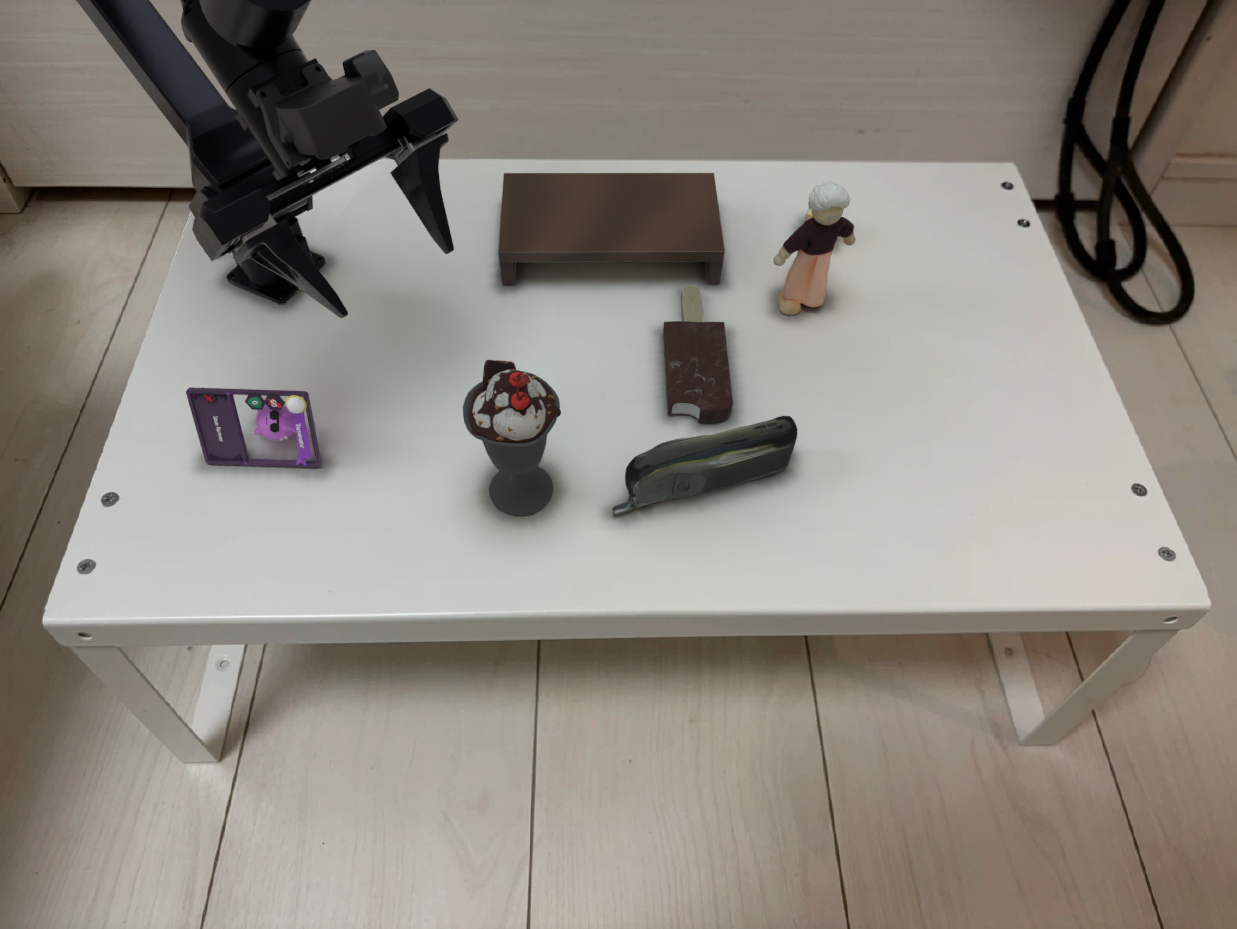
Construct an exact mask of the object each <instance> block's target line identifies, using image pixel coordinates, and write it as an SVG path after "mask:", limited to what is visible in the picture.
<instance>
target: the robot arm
mask: <svg viewBox="0 0 1237 929" xmlns="http://www.w3.org/2000/svg"><path fill="white" fill-rule="evenodd" d="M75 1H76V3H78V5H79V6H80V8H81V9H82V10H83V12H84V13H85V14H86V15H87V17H88V18H89V19H90V21H91V22H92V24H93V25H94V26H95V27H96V29H97V30H98V31H99V32H100V34H101V35H102V36H103V38H104V39H105V40H106V42H107V43H108V45H109V46H110V47H111V48H112V50H113V51H114V52H115V54H116V55H117V56H118V58H119V59H120V60H121V61H122V63H123V64H124V66H126V68H127V69H128V70H129V72H130V73H131V74H132V76H133V77H134V78H135V80H136V82H138V84H139V85H140V87H142V89H143V90H144V91H145V93H146V94H147V96H148V97H149V98H150V99H151V101H152V102H153V103H154V104H155V106H156V107H157V109H158V110H159V112H161V113H162V115H163V116H164V117H165V119H166V120H167V122H168V123H169V124H170V125H171V127H172V128H173V129H174V131H175V132H176V133H177V135H178V136H179V137H180V138H181V140H182V141H183V142H184V144H185V145H186V147H187V149H188V155H189V156H188V157H189V166H190V167H189V168H190V176H191V184H192V186H193V188H194V190H195V191H196V192H195V194H194V196H193V197H192V199H191V200H190V203H189V204H188V208H189V210H190V213H191V214H192V215H193V217H194V218H193V223H192V229H191V231H192V233H193V235H194V237H195V239H196V241H197V243H198V244H199V245H200V247H201V249H202V250H203V251H204V253H205V254H206V256H207V257H208V258H209V260H210V262H214V261H216V260H219V259H221V258H222V257H224V256H226V255H229V254H230V255H231V254H232V258H233V260H234V261H235V264H236V266H235V267H234V268H233V269H232V270H230V272H228V273H227V274H226V277H225V278H226V280H227V282H228V283H230V284H232V285H234V286H236V287H239V288H240V289H243V290H245V291H248V292H249V293H253V294H254V295H258V296H260V297H262V298H264V299H266V300H269V301H271V302H273V303H276V304H279V305H284V304H285V303H287V302H288V301H289V300H290V299H291V298H292V297H293V296H294V295H295V294H296V293H297V292H298V291H299V290H301V291H302V292H304V293H305V294H306V295H308V296H309V297H311V298H312V299H313V300H315V301H316V302H317V303H319V304H320V305H321V306H323V307H324V308H325V309H327V310H328V311H330V312H331V313H332V314H333V315H335V316H336V317H338V318H340V319H344V318H345V317H347V316H348V315H349V312H348V310H347V308H346V307H345V304H344V303H343V301H342V299H341V298H340V296H339V294H338V293H337V292H336V291H335V289H334V288H333V286H332V284H331V283H329V281H328V280H327V279H326V277H325V276H324V275H323V273H322V272H321V271H320V270H321V269H322V268H323V267H324V266H325V265H326V263H327V262H326V258H325V257H324V255H322V254H319V253H316V252H314V251H312V250H310V247H309V243H308V241H307V240H308V239H307V238H306V236H304V233H303V231H302V228H301V225H300V222H299V218H297V217H298V216H300V215H302V214H303V213H305V212H309V211H312V210H313V209H314V198H313V197H314V195H316V194H318V193H319V192H321V191H323V190H325V189H327V188H329V187H331V186H333V185H335V184H337V183H338V182H341V181H342V180H344V179H346V178H348V177H350V176H352V175H354V174H355V173H358V172H359V171H361V170H363V169H364V168H367V167H368V166H371V165H373V164H374V163H376V162H378V161H380V160H382V159H385V158H387V159H390V160H392V161H394V163H395V164H396V167H395V168H393V169H392V170H391V171H390V172H389V173H390V175H391V177H392V178H393V180H394V182H395V183H396V184H397V187H398V188H399V189H400V190H401V193H402V194H403V195H404V197H405V198H406V200H407V202H408V203H409V204H410V206H411V207H412V209H413V211H414V212H415V214H416V215H417V217H418V218H419V220H420V222H421V223H422V225H423V227H424V228H425V230H426V231H427V233H428V234H429V236H430V237H431V239H432V240H433V242H435V244H436V245H437V247H439V249H440V250H441V251H442V253H444V254H445V255H448V254H450V253H452V252H454V251H455V246H454V241H453V237H452V232H451V229H450V224H449V220H448V215H447V211H446V207H445V202H444V198H443V193H442V187H441V180H440V179H441V177H440V168H439V166H440V165H439V164H440V157H441V156H440V155H441V149H442V148H443V147H444V146H445V145H447V144H448V143H449V140H450V139H449V134H448V133H447V131H448V130H449V129H450V128H451V127H452V126H454V125H455V124H456V123H457V122H458V121H459V117H458V116H457V114H456V113H455V110H454V109H453V108H452V106H451V104H450V102H449V101H448V99H447V97H445V96H443V95H442V94H440V93H439V92H437V91H435V90H434V89H433V88H430V87H429V88H426V89H425V90H423V91H420V92H418V93H417V94H415V95H413V96H411V97H408V98H406V99H405V100H403V101H401V102H399V103H397V104H395V105H393V106H391V107H389V109H388V110H387V111H386V112H385V113H384V114H383V115H382V112H381V111H380V110H382V109H384V108H387V107H388V106H390V105H392V104H393V103H396V102H398V101H399V98H400V91H399V89H398V87H397V84H396V82H395V79H394V77H393V75H392V73H391V71H390V70H389V68H388V67H387V65H386V64H385V62H384V60H383V59H382V58H381V56H380V54H379V53H378V52H377V50H376V49H368V50H364V51H361V52H359V53H357V54H355V55H353V56H351V57H349V58H347V59H346V58H345V60H343V61H342V69H343V73H344V75H341V76H340V77H339V76H338V77H337V78H332V77H330V75H329V74H328V73H327V71H326V69H325V68H324V66H323V64H321V63H320V62H319V61H318V60H317V58H316V57H315V58H313V59H311V60H309V59H308V57H307V55H306V54H305V53H304V51H303V49H302V47H301V46H300V44H299V43H298V41H297V40H296V38H295V37H294V34H295V32H296V31H297V29H298V27H299V25H300V24H301V22H302V20H303V17H304V16H305V14H306V12H307V10H308V8H309V7H310V5H311V3H312V1H313V0H180V3H181V7H182V14H181V17H180V25H181V29H182V33H183V36H184V38H185V39H186V41H187V42H188V43H192V44H193V46H194V47H195V49H196V50H197V52H198V53H199V56H200V57H202V59H203V61H204V62H205V64H206V66H207V67H208V69H209V70H210V72H211V73H212V75H213V77H214V78H215V79H216V81H217V82H218V84H219V85H220V87H221V89H222V90H223V92H224V93H225V95H226V96H227V98H228V99H229V101H230V102H231V104H232V105H233V107H231V106H230V105H229V103H228V102H227V101H226V100H225V99H224V97H223V96H222V94H221V93H220V91H219V90H218V89H217V87H216V86H215V85H214V84H213V82H212V81H211V80H210V79H209V77H208V76H207V75H206V72H204V71H203V69H202V68H201V67H200V65H199V64H198V62H197V61H196V60H195V58H194V57H193V56H192V54H191V53H190V52H189V50H188V49H187V48H186V47H185V45H184V44H183V43H182V41H181V40H180V38H179V37H178V36H177V34H175V32H174V31H173V29H172V28H171V27H170V25H169V24H168V23H167V22H166V20H165V19H164V17H163V16H162V15H161V13H160V12H159V11H158V9H157V8H156V7H155V6H154V4H153V2H152V1H151V0H75ZM347 155H348V157H349V158H348V159H347V157H346V156H347Z"/></svg>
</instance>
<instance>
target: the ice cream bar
mask: <svg viewBox="0 0 1237 929" xmlns="http://www.w3.org/2000/svg"><path fill="white" fill-rule="evenodd" d="M680 297H681V298H680V299H681V312H682V320H681V321H680V320H674V321H663V328H662V332H663V333H662V334H663V335H662V336H663V352H664V371H665V386H666V388H665V389H666V406H667V414H668V415H669V416H691V417H692V418H695V419H697V421H698V423H699V424H717V423H720V422H724V421H726V420H727V419H729V417H730V416H731V413H732V410H733V406H734V400H733V390H732V382H731V381H732V380H731V374H730V373H731V371H730V362H729V356H728V346H727V335H726V326H725V322H724V321H704V317H703V316H704V315H703V306H702V305H703V304H702V293H701V290H700V288H699V287H697V286H696V285H695V286H694V285H686V286H684V287H683V288H682V289H681V294H680Z"/></svg>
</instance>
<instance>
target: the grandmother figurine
mask: <svg viewBox="0 0 1237 929" xmlns="http://www.w3.org/2000/svg"><path fill="white" fill-rule="evenodd" d="M850 203H851V198H850V194H849V192H848V190H847V189H846V188H845V187H843V186H842V185H841V184H839V183H836V182H833V181H832V180H831V181H824V182H823V183H821V184H820V183H819V184H815V186H814V187H813V188H812V190H811V191H810V192H809V194H808V202H807V206H808V207H809V209H810V210H812V215H813V217H812V218H810V219H808V220H806V221H805V222H804V221H803V223H802V224H801V225H800V226H799V227H798V228H797V229H796V230H795V231H794V232H792V234H791V235H790V236H789V237H788V238H787V239H786V240H785V241H783V243H782V246H781V247H780V248H779V249H778V253H777V254H775V255H774V257H773V258H772V259H773V260H772V261H773V264H774V265H775V266H777V267H782V266H783V265H784V264H785V263H786V260H788V259H789V258H790V257H791V255H793V254H794V253H796V256H795V257H794V259H793V261H792V263H791V265H790V267H789V268H788V270H787V273H786V276H785V280H784V284H783V287H782V290H781V292H780V293H779V294H778V296H777V304H778V309H779V311H780V312H781V313H782V314H784V315H786V316H793V315H797V314H799V313H800V312H801V311H802V305H801V304H803V305H804V306H806V307H810V308H819V307H822V306H823V305H824V304H825V296H826V295H825V294H826V289H827V284H828V277H829V270H830V265H831V257H832V254H833V253H834V252H833V251H834V249H835V244H836V242H837V240H838V237H839V238H842V241H843V243H844V245H846V246H853V245H854V244H855V243H856V240H857V238H856V236H855V232H854V230H855V225H854V224H853V222H851V221H850V220H849V219H847V218H846V217H845V216H843V214H844V211H845V210H844V209H846V208H848V207H849V206H850Z"/></svg>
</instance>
